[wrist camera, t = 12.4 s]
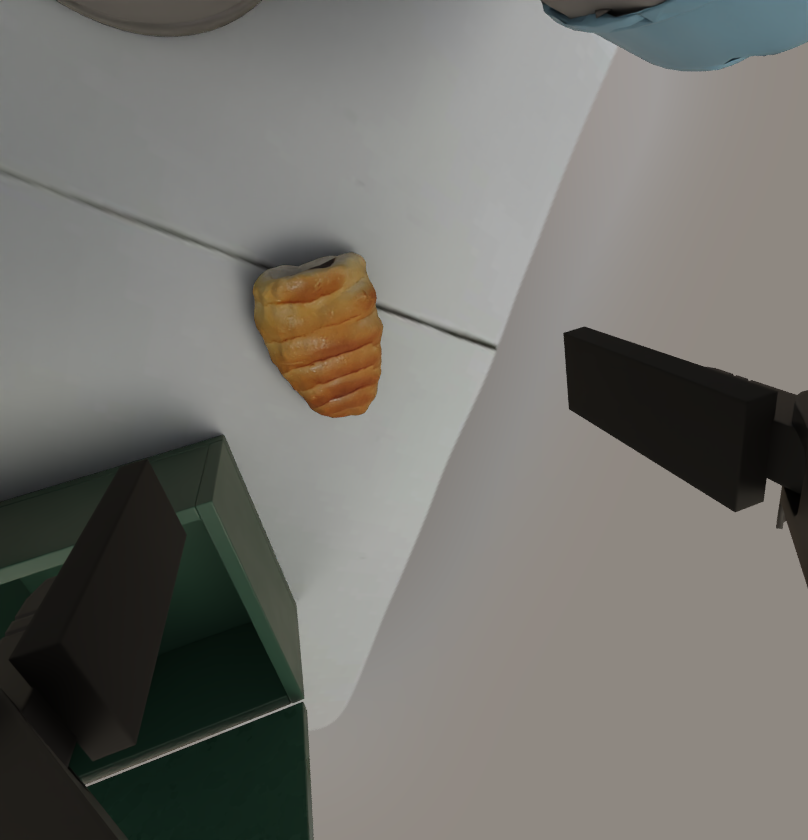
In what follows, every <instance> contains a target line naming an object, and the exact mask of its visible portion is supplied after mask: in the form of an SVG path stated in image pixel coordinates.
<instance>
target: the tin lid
mask: <svg viewBox="0 0 808 840" xmlns="http://www.w3.org/2000/svg"><path fill="white" fill-rule="evenodd" d="M87 788H88V789H89V791H90V792H91V793H92V794H93V796H94V797H95V798H96V799H97V801H98V802H99V803H100V804H101V806H102V807H103V808H104V809H105V811H106V812H107V813H108V815H109V816H110V817H111V818H112V820H113V821H114V822H115V823H116V825H117V826H118V827H119V828H120V830H121V831H122V832H123V833H124V835H125V836H126V837H127V838H128V840H314V837H313V818H312V800H311V799H312V798H311V780H310V759H309V741H308V720H307V710H306V707H305V705H304V703H303V702H301V703H298V704H296V705H293V706H291V707H288V708H286V709H283V710H281V711H278V712H276V713H273V714H270V715H268V716H265V717H263V718H260V719H258V720H255V721H253V722H250V723H248V724H245V725H243V726H240V727H237V728H235V729H232V730H230V731H227V732H225V733H222V734H220V735H217V736H215V737H212V738H210V739H207V740H205V741H202V742H199V743H197V744H194V745H192V746H189V747H187V748H184V749H182V750H179V751H177V752H174V753H172V754H169V755H166V756H164V757H162V758H159V759H156V760H154V761H151V762H149V763H146V764H143V765H141V766H139V767H136V768H134V769H131V770H128V771H126V772H123V773H121V774H118V775H116V776H113V777H110V778H108V779H105V780H103V781H101V782H98V783H95V784H93V785H90V786H88V787H87Z"/></svg>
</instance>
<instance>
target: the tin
mask: <svg viewBox="0 0 808 840" xmlns="http://www.w3.org/2000/svg"><path fill="white" fill-rule="evenodd" d="M145 459H148V460H149V462H150V464H151V466H152V468H153V470H154V472H155V474H156V476H157V478H158V480H159V482H160V484H161V486H162V488H163V489H164V491H165V493H166V495H167V497H168V499H169V501H170V503H171V505H172V507H173V509H174V511H175V513H176V515H177V517H178V519H179V521H180V523H181V525H182V526H183V528H184V530H185V532H186V534H187V536H186V540H185V544H184V548H183V553H182V557H181V561H180V565H179V569H178V573H177V577H176V581H175V586H174V590H173V594H172V598H171V602H170V606H169V610H168V615H167V619H166V623H165V627H164V631H163V635H162V639H161V643H160V648H159V652H158V656H157V660H156V664H155V668H154V672H153V676H152V681H151V685H150V689H149V693H148V697H147V701H146V705H145V710H144V714H143V718H142V722H141V726H140V730H139V734H138V738H137V743H136V745H134V746H131V747H129V748H126V749H123V750H121V751H118V752H116V753H113V754H111V755H108V756H105V757H103V758H100V759H98V760H95V761H92V760H91V759H90V757H89V756H88V755H87V754H86V753H85V751H84V750H83V749H82V748H81V747H80V745H79V744H78V743H76V745H75V748H74V751H73V754H72V757H71V759H70V762H69V767H70V768H71V769H72V770H73V771H74V772H75V773H76V775H77V776H78V777H79V778H80V779H81V781H82V782H83V783H84V784H88V783H91V782H93V781H95V780H98V779H101V778H103V777H106V776H108V775H111V774H113V773H116V772H118V771H121V770H124V769H126V768H129V767H131V766H134V765H136V764H139V763H141V762H144V761H147V760H149V759H152V758H154V757H157V756H159V755H162V754H164V753H167V752H169V751H172V750H175V749H177V748H180V747H182V746H185V745H187V744H190V743H192V742H195V741H197V740H200V739H202V738H205V737H207V736H210V735H213V734H215V733H218V732H220V731H223V730H225V729H228V728H231V727H233V726H236V725H238V724H241V723H243V722H246V721H248V720H251V719H253V718H256V717H259V716H261V715H264V714H266V713H269V712H271V711H274V710H276V709H279V708H281V707H284V706H286V705H289V704H291V703H295V702H297V701H300V700H302V699H304V688H303V676H302V665H301V653H300V641H299V629H298V618H297V606H296V603H295V601H294V599H293V596H292V594H291V592H290V589H289V587H288V584H287V582H286V580H285V577H284V575H283V573H282V570H281V568H280V566H279V563H278V561H277V559H276V556H275V554H274V551H273V549H272V547H271V544H270V542H269V540H268V537H267V535H266V533H265V530H264V528H263V526H262V523H261V521H260V518H259V516H258V514H257V511H256V509H255V507H254V504H253V502H252V500H251V497H250V495H249V492H248V490H247V488H246V485H245V483H244V481H243V478H242V476H241V474H240V471H239V469H238V467H237V464H236V462H235V459H234V457H233V455H232V452H231V450H230V448H229V445H228V443H227V441H226V438H225V436H224V435H221V436H218V437H215V438H211V439H208V440H205V441H201V442H198V443H195V444H191V445H188V446H185V447H181V448H178V449H175V450H172V451H168V452H165V453H162V454H158V455H155V456H152V457H148V458H145ZM145 459H142V460H145ZM138 461H141V460H138ZM138 461H135V462H138ZM135 462H132V463H135ZM132 463H128V464H132ZM128 464H125V465H128ZM125 465H122V466H125ZM122 466H118V467H115V468H112V469H109V470H105V471H102V472H99V473H95V474H92V475H89V476H85V477H82V478H79V479H75V480H72V481H69V482H65V483H62V484H59V485H55V486H52V487H49V488H45V489H42V490H39V491H36V492H32V493H29V494H26V495H22V496H19V497H16V498H12V499H9V500H6V501H2V502H0V640H1V639H2V638H3V637H5V632H6V630H7V629H8V627H9V626H10V624H11V622H12V621H15V616H16V614H17V613H18V611H19V610H20V608H21V606H22V605H23V603H24V602H25V600H26V598H28V597H29V596H30V595H31V594H32V593H33V592H34V591H35V590H36V589H37V588H38V587H39V586H40V585H41V584H42V583H43V582H44V581H45V580H46V579H48V578H51V577H54V576H57V575H58V573H59V571H60V569H61V568H62V566H63V564H64V562H65V561H66V559H67V557H68V556H69V554H70V552H71V550H72V549H73V547H74V545H75V543H76V542H77V540H78V538H79V536H80V535H81V533H82V531H83V530H84V528H85V526H86V524H87V523H88V521H89V519H90V517H91V516H92V514H93V512H94V511H95V509H96V507H97V505H98V504H99V502H100V500H101V498H102V497H103V495H104V493H105V492H106V490H107V488H108V486H109V485H110V483H111V481H112V479H113V478H114V476H115V474H116V473H117V471H118V469H119V467H122Z"/></svg>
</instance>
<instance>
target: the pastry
mask: <svg viewBox="0 0 808 840" xmlns="http://www.w3.org/2000/svg"><path fill="white" fill-rule="evenodd" d="M253 295H254V300H255V310H254V320H255V324H256V327H257V329H258V330H259V332H260V334H261V336H262V337H263V339H264V342H265V345H266V347H267V348H268V351H269V354H270V357H271V360H272V362H273V363H274V364H275V365H276V366H277V367H278V369H279V371H280V372H281V374H282V375H283V377H284V378H285V379H286V380H287V381H288V382H289V383H290V384H291V386H292V387H293V389H294V390H296V391H297V392H298V393H299V394H300V395H301V396H302V397H303V398H304V399H305V400H306V402H307V403H308V405H309V406H310V408H311V409H312V410H314V411H315V412H317V413H319V414H321V415H324V416H329V417H332V418H337V417H345V416H349V415H361V414H363V413H365V412H366V410H367V409H368V407H369V405H370V403H371V402H372V401H373V400H374V398H375V396H376V394H377V385H378V380H379V378H380V375H381V362H382V361H381V346H380V341H381V336H382V331H383V324H382V322H381V320H380V318H379V317H378V314H377V309H376V305H375V303H376V299H377V297H376V292H375V289H374V287H373V285H372V283H371V282H370V280H369V278H368V275H367V272H366V262H365V260H364V259H363V258H362V257H361V256H360V255H357V254H355V253H353V252H350V253H345V254H341V255H339V256H325V257H321V258H318V259H316V260H314V261H310V262H307V263H305V264H303V265H301V266H299V267H296V266H291V265H280V266H278V267H275V268H271V269H268V270H266V271H265V272H264V273H262V274H261V275H260V276H259V277H258V279H257V280H256V282H255V284H254V287H253Z"/></svg>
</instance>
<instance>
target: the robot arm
mask: <svg viewBox="0 0 808 840" xmlns="http://www.w3.org/2000/svg"><path fill="white" fill-rule="evenodd" d="M57 1H58V2H60V3H61V4H63V5H65V6H66V7H68V8H70V9H72V10H74V11H76V12H78V13H80V14H82V15H83V16H86V17H88V18H90V19H93V20H95V21H97V22H100V23H102V24H105V25H108V26H111V27H114V28H117V29H120V30H124V31H128V32H133V33H138V34H143V35H151V36H174V37H178V36H186V35H195V34H199V33H203V32H207V31H211V30H214V29H217V28H219V27H222V26H225V25H227V24H229V23H231V22H233V21H234V20H236V19H238V18H240V17H242V16H243V15H244V14H246V13H247V12H249V11H250V10H251V9H253V8H254V7H255V6H256V5H257V4H259V3H260V2H261V1H262V0H57ZM541 2H542V4H543V9H544V12H545V13H546V14H547V15H549V16H550V17H551V18H552V19H553V20H554V21H555V22H557V23H559V24H561V25H563V26H565V27H567V28H570V29H572V30H577V31H583V32H590V33H595V34H597V35H599V36H601V37H602V38H604V39H606V40H608V41H610V42H612V43H614V44H615V45H617V46H619V47H621V48H623V49H625V50H627V51H628V52H630V53H632V54H634V55H636V56H638V57H640V58H641V59H643V60H645V61H647V62H649V63H651V64H653V65H657V66H660V67H663V68H666V69H672V70H679V71H711V70H719V69H722V68H725V67H728V66H731V65H734V64H736V63H739V62H740V61H742V60H744V59H746V58H748V57H750V56H766V55H774V54H778V53H781V52H784V51H787V50H790V49H792V48H795V47H797V46H800V45H802V44H804V43H806V42H808V0H541ZM564 345H565V359H566V374H567V388H568V402H569V409H570V410H571V411H573V412H575V413H576V414H578V415H579V416H581V417H583V418H584V419H586V420H588V421H589V422H591V423H592V424H594V425H596V426H597V427H599V428H600V429H602V430H604V431H605V432H607V433H608V434H610V435H612V436H613V437H615V438H616V439H618V440H620V441H621V442H623V443H625V444H626V445H628V446H629V447H631V448H633V449H634V450H636V451H637V452H639V453H641V454H642V455H644V456H646V457H647V458H649V459H650V460H652V461H653V462H655V463H657V464H658V465H660V466H661V467H663V468H665V469H666V470H668V471H670V472H671V473H673V474H674V475H676V476H678V477H679V478H681V479H683V480H684V481H686V482H687V483H689V484H690V485H692V486H694V487H695V488H697V489H698V490H700V491H702V492H703V493H705V494H706V495H708V496H710V497H711V498H713V499H715V500H716V501H718V502H720V503H721V504H723V505H724V506H726V507H728V508H729V509H731V510H732V511H734V512H737V511H740V510H742V509H745V508H747V507H750V506H753V505H755V504H758V503H760V502H763V501H764V494H765V485H766V479H767V478H768V479H770V480H772V481H774V482H776V483H778V484H780V485H782V490H781V498H780V504H779V510H778V517H777V525H776V528H780V529H782V528H783V523H784V522H785V521H787V524H788V527H789V530H790V533H791V536H792V539H793V543H794V545H795V549H796V552H797V555H798V558H799V561H800V564H801V568H802V571H803V574H804V577H805V580H806V584H807V587H808V390H807V391H803V392H801V393H800V394H798V395H795V394H792V393H789V392H786V391H783V390H780V389H776V388H774V387H770V386H768V385H764V384H762V383H759V382H756V381H753V380H751V381H748V379H746V378H743V377H740V376H737V375H736V376H734V375H733V374H731V373H728V372H725V371H722V370H719V369H716V368H710V367H703V366H701V365H698V364H694V363H691V362H689V361H686V360H683V359H680V358H677V357H674V356H671V355H668V354H665V353H662V352H659V351H656V350H653V349H650V348H647V347H644V346H641V345H638V344H635V343H632V342H629V341H626V340H623V339H620V338H617V337H614V336H611V335H608V334H605V333H602V332H599V331H596V330H593V329H590V328H587V327H582V328H578V329H575V330H572V331H569V332H565V333H564ZM186 536H187V534H186V532H185V530H184V528H183V526H182V525H181V523H180V521H179V519H178V517H177V515H176V513H175V511H174V509H173V507H172V505H171V503H170V501H169V499H168V497H167V495H166V493H165V491H164V489H163V488H162V486H161V484H160V482H159V480H158V478H157V476H156V474H155V472H154V470H153V468H152V466H151V464H150V462H149V460H148V459H145V460H141V461H138V462H135V463H132V464H128V465H125V466H122V467H119V469H118V471H117V473H116V474H115V476H114V478H113V479H112V481H111V483H110V485H109V486H108V488H107V490H106V492H105V493H104V495H103V497H102V498H101V500H100V502H99V504H98V505H97V507H96V509H95V511H94V512H93V514H92V516H91V517H90V519H89V521H88V523H87V524H86V526H85V528H84V530H83V531H82V533H81V535H80V536H79V538H78V540H77V542H76V543H75V545H74V547H73V549H72V550H71V552H70V554H69V556H68V557H67V559H66V561H65V562H64V564H63V566H62V568H61V569H60V571H59V573H58V575H57V576H54V577H51V578H48V579H46V580H45V581H44V582H43V583H42V584H41V585H40V586H39V587H38V588H37V589H36V590H35V591H34V592H33V593H32V594H31V595H30V596H29V597H28V598H26V600H25V602H24V603H23V605H22V606H21V608H20V610H19V611H18V613H17V614H16V616H15V621H12V622H11V624H10V626H9V627H8V629H7V630H6V632H5V637H3V638H2V639H1V640H0V840H128V838H127V837H126V836H125V835H124V833H123V832H122V831H121V830H120V828H119V827H118V826H117V825H116V823H115V822H114V821H113V820H112V818H111V817H110V816H109V815H108V813H107V812H106V811H105V809H104V808H103V807H102V806H101V804H100V803H99V802H98V801H97V799H96V798H95V797H94V796H93V794H92V793H91V792H90V791H89V789H88V788H87V787H86V786H85V784H84V783H83V782H82V781H81V779H80V778H79V777H78V776H77V775H76V773H75V772H74V771H73V770H72V769H71V768H70V767H69V762H70V759H71V757H72V754H73V751H74V748H75V745H76V743H78V744H79V745H80V747H81V748H82V749H83V750H84V751H85V753H86V754H87V755H88V756H89V757H90V759H91V760H92V761H95V760H98V759H100V758H103V757H105V756H108V755H111V754H113V753H116V752H118V751H121V750H123V749H126V748H129V747H131V746H134V745H136V743H137V738H138V734H139V730H140V726H141V722H142V718H143V714H144V710H145V705H146V701H147V697H148V693H149V689H150V685H151V681H152V676H153V672H154V668H155V664H156V660H157V656H158V652H159V648H160V643H161V639H162V635H163V631H164V627H165V623H166V619H167V615H168V610H169V606H170V602H171V598H172V594H173V590H174V586H175V581H176V577H177V573H178V569H179V565H180V561H181V557H182V553H183V548H184V544H185V540H186Z"/></svg>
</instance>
